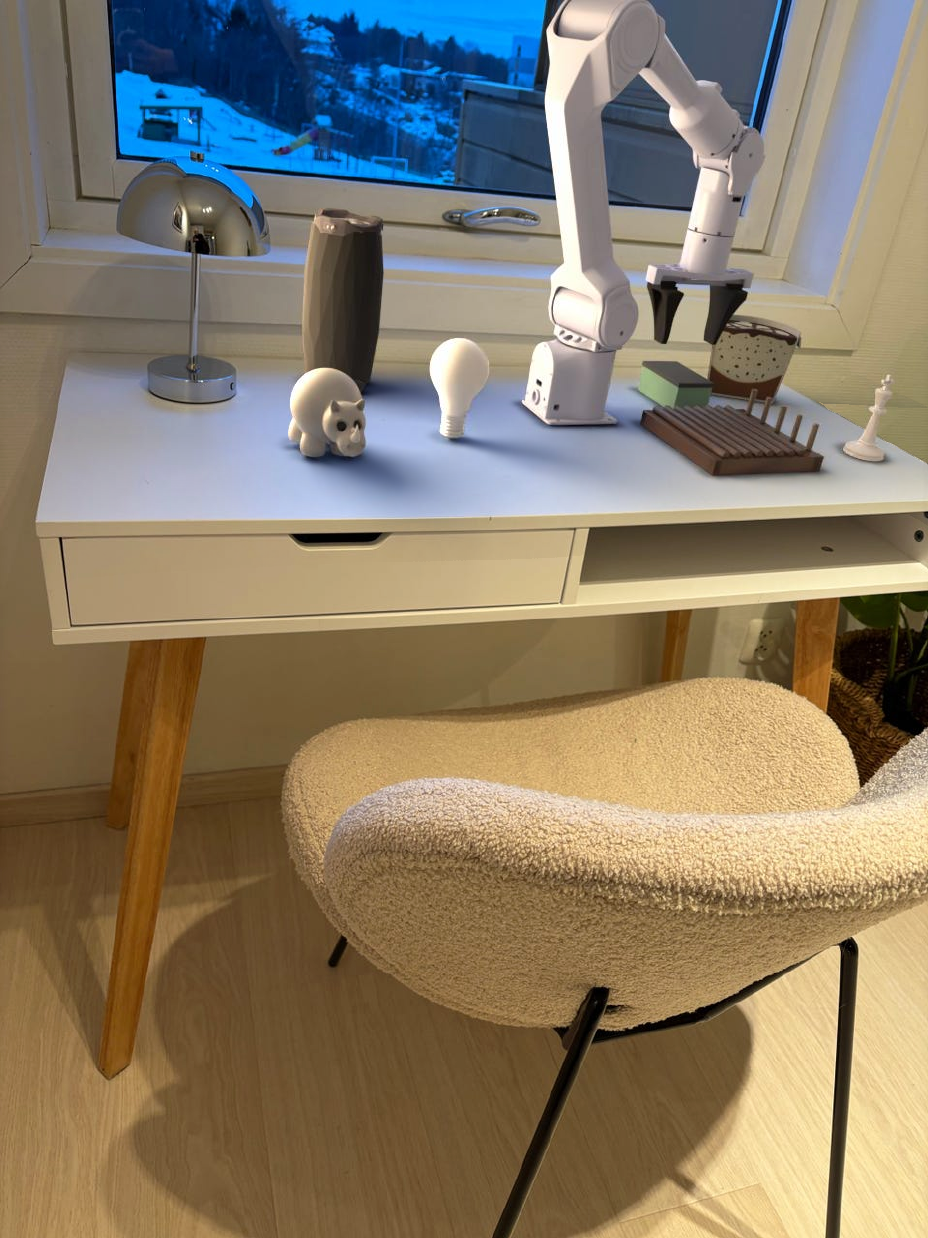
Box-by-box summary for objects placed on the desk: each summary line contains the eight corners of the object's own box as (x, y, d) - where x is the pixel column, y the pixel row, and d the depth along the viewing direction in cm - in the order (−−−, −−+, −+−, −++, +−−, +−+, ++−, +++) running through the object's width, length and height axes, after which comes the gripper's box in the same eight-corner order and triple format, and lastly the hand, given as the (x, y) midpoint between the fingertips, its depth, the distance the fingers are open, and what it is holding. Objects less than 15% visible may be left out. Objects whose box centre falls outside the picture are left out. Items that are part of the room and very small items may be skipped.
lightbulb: (488, 437, 114) (502, 340, 108) (465, 453, 108) (478, 352, 103) (437, 423, 115) (449, 327, 110) (412, 438, 110) (423, 338, 105)
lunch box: (672, 413, 130) (679, 383, 128) (636, 389, 137) (642, 360, 135) (707, 413, 132) (714, 383, 130) (670, 389, 139) (676, 360, 137)
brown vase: (385, 384, 125) (401, 218, 116) (347, 402, 118) (360, 226, 108) (326, 367, 128) (336, 203, 118) (285, 384, 120) (292, 210, 111)
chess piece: (834, 447, 126) (859, 368, 121) (864, 445, 128) (890, 368, 123) (861, 462, 122) (889, 381, 117) (892, 460, 124) (920, 381, 119)
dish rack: (711, 475, 112) (723, 432, 110) (639, 423, 125) (648, 384, 122) (819, 470, 118) (833, 430, 115) (740, 422, 130) (750, 384, 128)
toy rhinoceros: (316, 485, 96) (320, 399, 92) (279, 439, 105) (282, 358, 101) (386, 480, 99) (394, 397, 95) (344, 436, 108) (350, 357, 104)
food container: (775, 392, 145) (796, 321, 140) (783, 405, 139) (805, 332, 134) (690, 379, 145) (707, 308, 140) (694, 391, 140) (712, 319, 135)
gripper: (740, 228, 130) (714, 334, 136) (643, 221, 124) (621, 332, 131) (773, 240, 124) (744, 349, 131) (674, 233, 119) (649, 348, 125)
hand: (685, 342), depth 131 cm, fingers open, 7 cm apart
